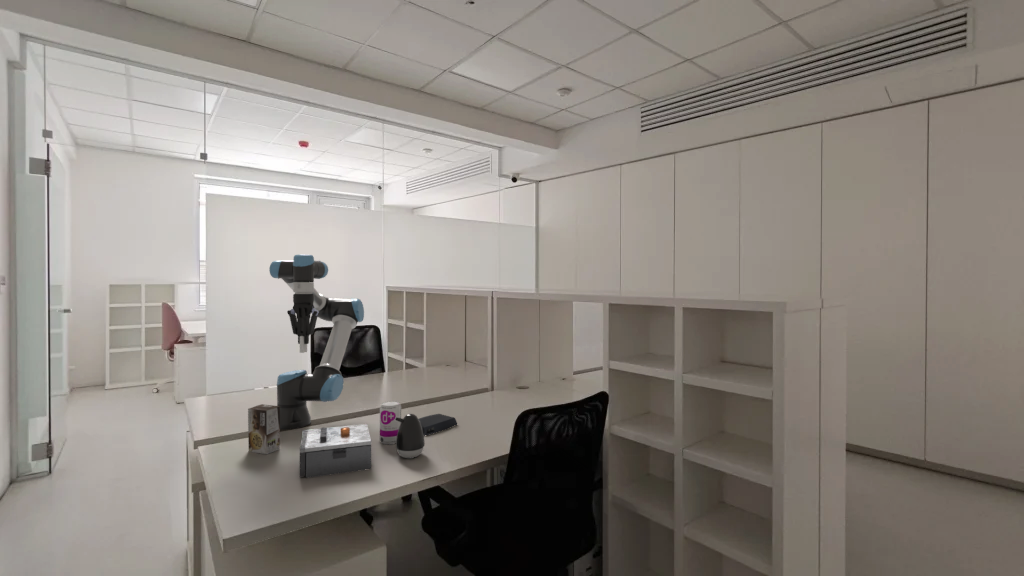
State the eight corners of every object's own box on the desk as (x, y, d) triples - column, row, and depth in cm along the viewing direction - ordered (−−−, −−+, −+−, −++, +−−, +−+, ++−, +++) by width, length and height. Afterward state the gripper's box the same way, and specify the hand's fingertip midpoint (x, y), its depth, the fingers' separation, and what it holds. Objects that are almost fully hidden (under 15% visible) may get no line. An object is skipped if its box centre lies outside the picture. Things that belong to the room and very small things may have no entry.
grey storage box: (305, 480, 147) (305, 454, 146) (308, 453, 169) (309, 431, 169) (371, 471, 154) (371, 447, 154) (366, 447, 176) (366, 425, 176)
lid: (299, 477, 148) (299, 442, 148) (302, 455, 166) (303, 424, 166) (371, 467, 156) (371, 435, 156) (366, 447, 174) (366, 418, 174)
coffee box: (280, 448, 174) (280, 405, 174) (266, 454, 168) (266, 410, 168) (262, 445, 177) (262, 403, 177) (247, 451, 171) (247, 407, 170)
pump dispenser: (393, 452, 171) (393, 411, 171) (421, 449, 175) (421, 409, 174) (397, 462, 161) (397, 419, 161) (427, 458, 165) (427, 416, 165)
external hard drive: (404, 431, 197) (404, 421, 197) (438, 420, 212) (438, 411, 212) (425, 437, 189) (425, 427, 189) (458, 426, 205) (459, 416, 204)
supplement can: (395, 445, 178) (395, 406, 178) (375, 444, 180) (375, 405, 179) (404, 438, 186) (404, 401, 186) (385, 437, 188) (385, 400, 187)
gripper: (282, 293, 183) (282, 353, 183) (313, 293, 181) (313, 354, 181) (294, 292, 190) (294, 350, 190) (323, 293, 188) (323, 351, 188)
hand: (303, 352), depth 186 cm, fingers closed
